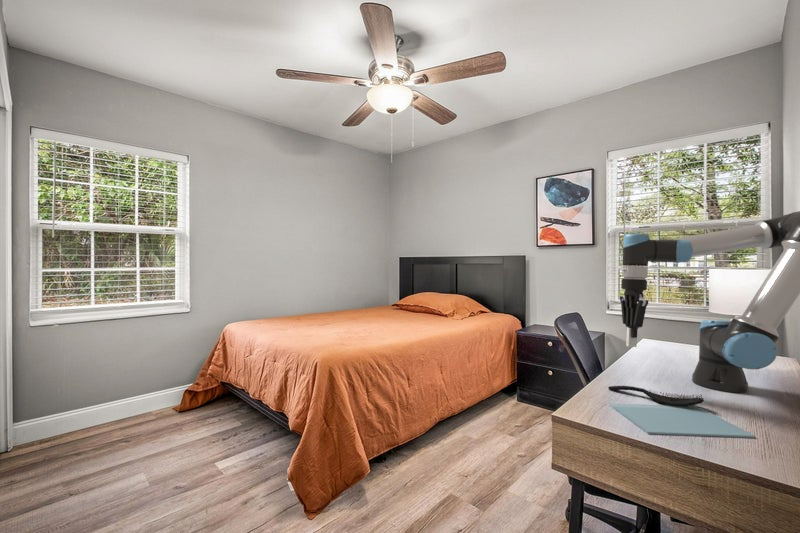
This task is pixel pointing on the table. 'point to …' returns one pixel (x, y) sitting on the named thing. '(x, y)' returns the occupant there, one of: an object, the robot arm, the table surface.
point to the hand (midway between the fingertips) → (631, 346)
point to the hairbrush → (663, 397)
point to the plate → (678, 420)
